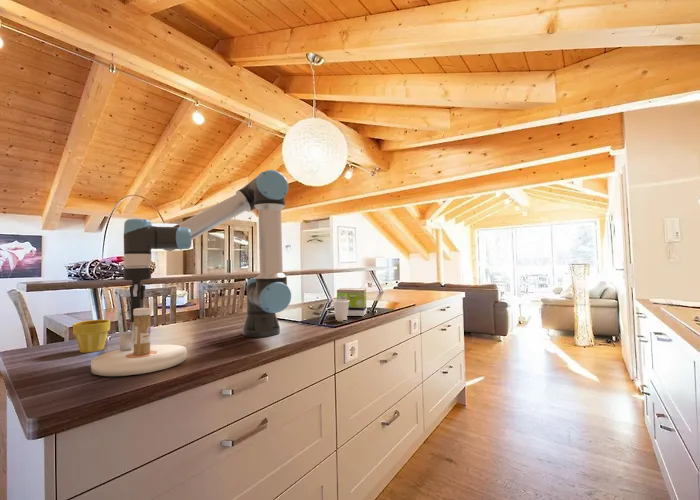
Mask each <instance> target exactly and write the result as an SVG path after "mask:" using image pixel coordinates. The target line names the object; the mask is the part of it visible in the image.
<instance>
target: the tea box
mask: <svg viewBox="0 0 700 500" xmlns="http://www.w3.org/2000/svg"><path fill="white" fill-rule="evenodd" d="M336 300H349V306H348V316H364V315H365V314H366V315H367V288H355V287H353V288H352V287H349V288H348V287H347V288H346V287H345V288H344V287H341V288H338V289H337V290H336ZM366 315H365V316H366ZM365 316H364V317H365Z"/></svg>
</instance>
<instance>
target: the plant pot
mask: <svg viewBox="0 0 700 500" xmlns="http://www.w3.org/2000/svg"><path fill="white" fill-rule="evenodd" d="M110 330H111V320H110V319H91V320H82V321H79V322H78V321H77V322H75V323H73V324H72V333H73V335H75V338H76V342H77V345H78V346H77V347H78V349H79V352H80V353H82V354H83V353H95V352H99V351H102V350H104V349H105V345H106V340H107V337H108V332H109V331H110Z"/></svg>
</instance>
